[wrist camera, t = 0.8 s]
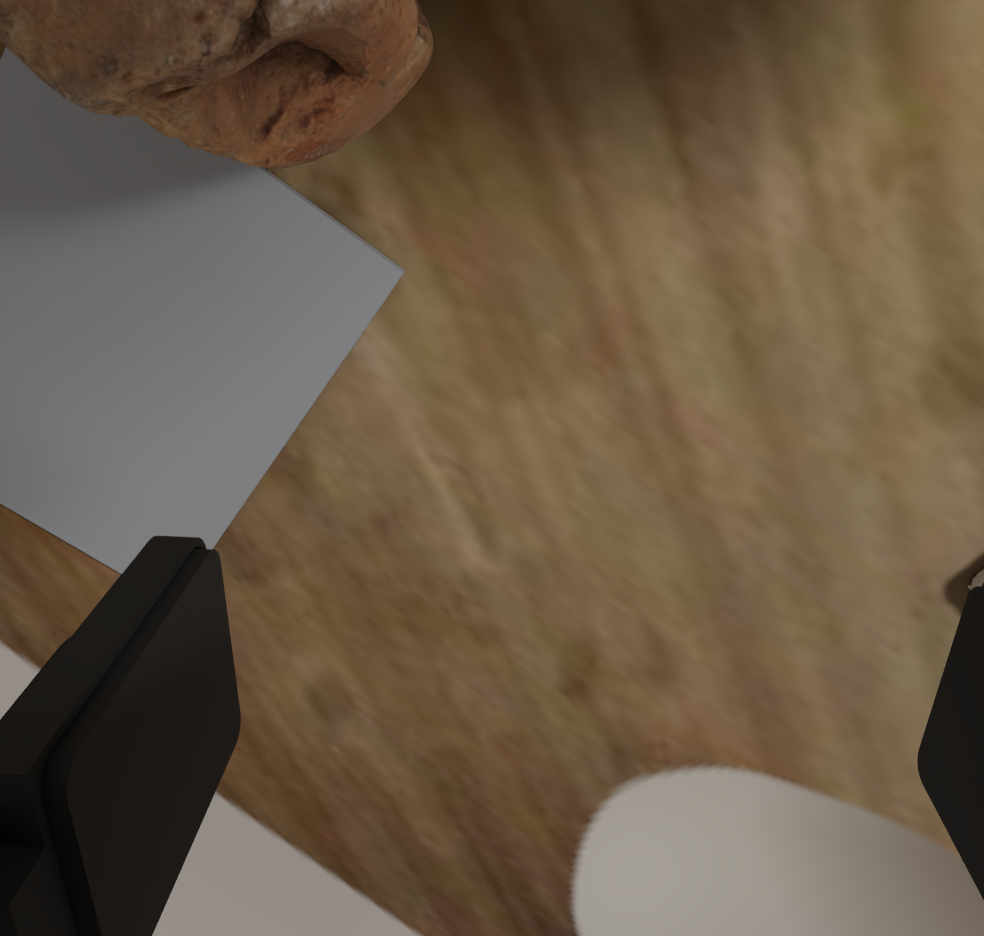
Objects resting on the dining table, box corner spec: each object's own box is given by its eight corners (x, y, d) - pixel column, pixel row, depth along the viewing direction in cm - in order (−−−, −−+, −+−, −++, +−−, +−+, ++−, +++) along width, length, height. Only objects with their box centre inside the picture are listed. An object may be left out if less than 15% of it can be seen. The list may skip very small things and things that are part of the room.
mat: (33, -1, 34) (26, -1, 34) (405, 270, 39) (403, 272, 38) (-148, 409, 42) (-155, 413, 42) (177, 599, 46) (174, 604, 46)
